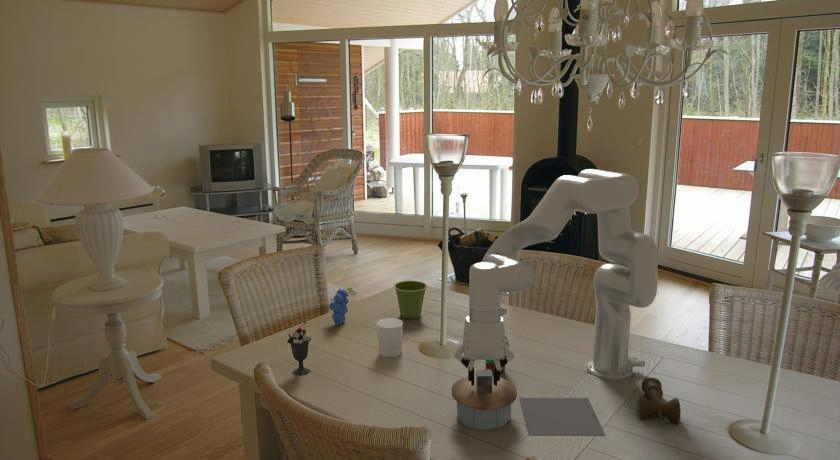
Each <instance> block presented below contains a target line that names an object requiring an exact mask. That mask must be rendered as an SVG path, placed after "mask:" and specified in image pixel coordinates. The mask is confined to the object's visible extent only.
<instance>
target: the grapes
mask: <svg viewBox="0 0 840 460" xmlns="http://www.w3.org/2000/svg"><path fill="white" fill-rule="evenodd" d="M348 295H349V294H348V292H347V291H346V290H345V289H343V288H339V289H338V290H337V291H336V293H335V295H334V296H333V300H334V301H331V302H330V303H329V304H328V308H329V310H330V311H332V312H333V313H331V314H332V315H331V318H332V319H333V322H334V324H335V325H337V326H340V325H341V324H342V323H344V321H346V316H345V315H346V314H347V313H348V311H349V309H348V307H347V305H348V303H349V302H350V300H349V299H348Z"/></svg>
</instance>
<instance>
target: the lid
mask: <svg viewBox="0 0 840 460" xmlns="http://www.w3.org/2000/svg"><path fill="white" fill-rule="evenodd" d="M517 391H518V389H517V388H516V385H514V384H513V383H512V382H511V381H509V380H507V379H505V378H502V377H500V381H497V386H495V385H494V381H493V376H492V372H491V370H486V369H476V375H475V374H474V386H471V381H468V376H465V377H462V378H460V379H458V380H457V381H455V382H454V383H453V384H452V386H451V395H452V398H453V399H454V400H455V401H456V403H457V402H458V403H460V404H462V405H464V406H467V407H470V408H474V409H482V410H492V409H499V408H503V407H506V406H508V405H510V404H511V405H512V404H513V403H514V402H515V401H516V399H517V394H518V393H517Z"/></svg>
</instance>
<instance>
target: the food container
mask: <svg viewBox="0 0 840 460" xmlns="http://www.w3.org/2000/svg"><path fill="white" fill-rule="evenodd" d="M505 343H506V345H507V346H508V347H509V348H510V342H509V339H508V336H507V335H506V334H505ZM506 355H507V354H506V353H505V356H506ZM500 360H501V359H500ZM494 366H495V362H494V360H485V370H491V372H492V376H493V367H494ZM505 370H506V365H505V366H504V367H502V369H501V370H500V375H503V374H504V373H505V372H506V371H505Z"/></svg>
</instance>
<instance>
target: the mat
mask: <svg viewBox="0 0 840 460" xmlns="http://www.w3.org/2000/svg"><path fill="white" fill-rule="evenodd" d="M519 403H520V406H521V407H520V408H521V410H522V415H523V419H524V422H525V427H526V431H527V433H528V436H543V437H544V436H547V437H549V436H550V437H551V436H560V437H561V436H564V437H567V436H571V437H575V436H576V437H578V436H579V437H580V436H581V437H585V436H586V437H591V436H592V437H594V436H595V437H606V433H605V430H604V429H603V426H602V425H601V423H600V421H599V418H598V416H597V414H596V412H595V410H594V407H593V405H592V403H591V401H590V399H589V397H519Z"/></svg>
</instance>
